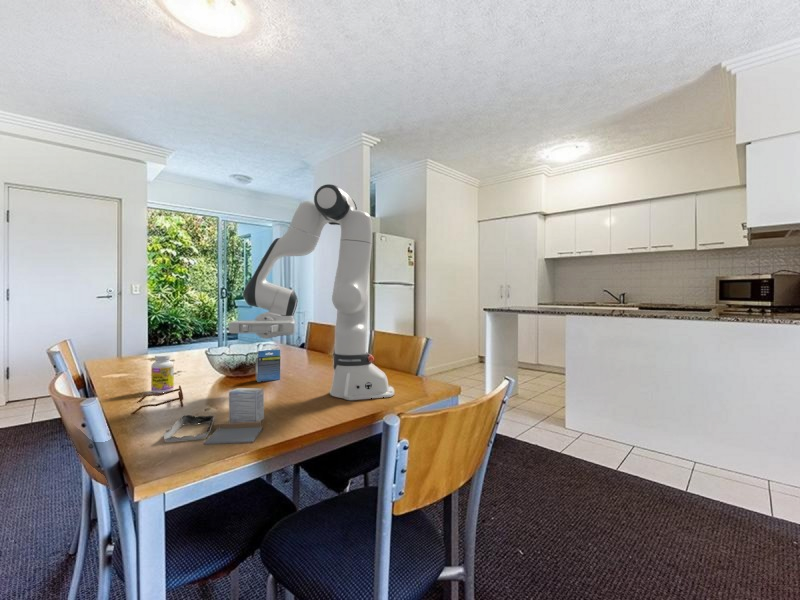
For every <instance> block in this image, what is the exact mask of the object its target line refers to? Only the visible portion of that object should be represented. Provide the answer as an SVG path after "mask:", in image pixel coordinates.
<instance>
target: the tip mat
mask: <svg viewBox="0 0 800 600" xmlns="http://www.w3.org/2000/svg"><path fill="white" fill-rule="evenodd" d="M262 429H263V426H262V421H260V422H234V423H229V422H221V423H219V428H216V430H215V431H214V432H213V433H212V434H211V435H210V436H209V437H207V438H206V439H205V440H204V442H203V445H221V444H243V443H244V444H246V443H247V444H248V443H254V442H255V440H256V439H257V437H258V436H259V434H260V432H262Z"/></svg>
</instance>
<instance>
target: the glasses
mask: <svg viewBox="0 0 800 600" xmlns="http://www.w3.org/2000/svg"><path fill="white" fill-rule="evenodd" d="M174 392H178V393H177V394H178V397H176V398H172V399H169V400H166V401H165V400H164V401H162V402H159V403H152V404H151V403H149V404H144V405H140V406H139V407H138V408H136V409H135V410H134V411H133V412H131V413H130V414H131V415H135V414H136V413H138V412H139V411H140V410H141V409H143V408H148V407H158V406H161V405H166V404H168V403H172V402H176V401H179V403H180V406H181V407H182V406H183V407H184V404H183V400H184V394H183V389H182V387H181V385H178V388H175V389H173V390H171V391H168V392H164V393H151V394H144V396H142V397H141V398H140V399H139V400H137V402H136V404H139V403H138V402H140V403H141V402H143V400H144V399H145V398H146V397H160V396H164V395H167V394H173V393H174Z"/></svg>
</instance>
